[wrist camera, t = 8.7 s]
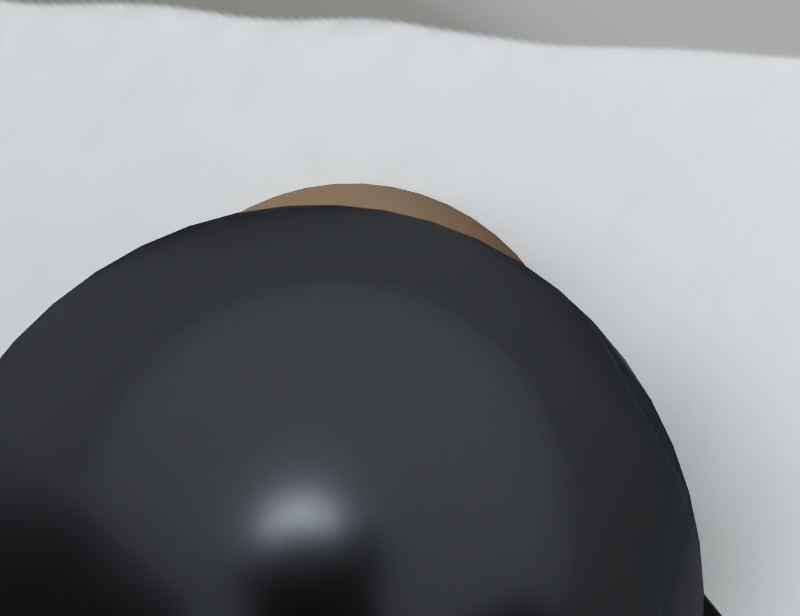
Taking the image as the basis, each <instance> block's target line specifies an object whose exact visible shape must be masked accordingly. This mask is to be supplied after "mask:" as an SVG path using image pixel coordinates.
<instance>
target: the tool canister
mask: <svg viewBox="0 0 800 616" xmlns="http://www.w3.org/2000/svg"><path fill="white" fill-rule="evenodd" d="M703 606H704V589H703V578H702V566H701V554H700V543H699V538H698V533H697V528H696V523H695V519H694V514H693V509H692V504H691V500H690V495H689V491H688V488H687V485H686V482H685V479H684V476H683V473H682V470H681V468H680V465H679V462H678V459H677V456H676V453H675V450H674V447H673V444H672V442H671V440H670V438H669V436H668V434H667V432H666V430H665V428H664V426H663V424H662V422H661V419H660V417H659V415H658V413H657V411H656V409H655V407H654V405H653V403H652V401H651V399H650V398H649V396H648V395H647V393H646V391H645V390H644V388H643V387H642V385H641V384H640V382H639V381H638V379H637V378H636V376H635V374H634V373H633V371H632V370H631V368H630V367H629V365H628V364H627V362H626V361H625V359H624V358H623V357H622V355H621V354H620V353H619V352H618V351H617V350H616V348H615V347H614V346H613V345H612V344H611V342H610V341H609V340H608V339H607V338H606V336H605V335H604V334H603V333H602V332H601V330H600V329H599V328H598V327H597V326H596V324H595V323H594V322H593V321H592V320H591V319H590V318H589V317H587V316H586V315H585V314H584V313H583V312H582V311H581V310H580V309H579V308H578V307H577V306H576V305H574V304H573V303H572V302H571V301H570V300H569V299H568V298H567V297H566V296H565V295H564V294H563V293H562V292H560V291H559V290H558V289H557V288H556V287H554V286H553V285H551V284H550V283H549V282H547V281H546V280H544V279H543V278H542V277H540V276H539V275H537V274H536V273H535V272H533V271H532V270H530V269H529V268H528V267H526V266H525V265H523V264H522V263H521V262H519V261H517V260H515V259H514V258H512V257H510V256H508V255H506V254H504V253H502V252H501V251H499V250H497V249H495V248H493V247H491V246H489V245H488V244H486V243H484V242H482V241H480V240H478V239H476V238H474V237H471V236H468V235H466V234H463V233H461V232H458V231H455V230H453V229H450V228H447V227H445V226H442V225H440V224H437V223H434V222H432V221H428V220H423V219H419V218H415V217H411V216H407V215H403V214H399V213H395V212H390V211H386V210H379V209H370V208H361V207H352V206H343V205H296V206H281V207H274V208H268V209H261V210H254V211H247V212H240V213H235V214H232V215H228V216H224V217H221V218H217V219H213V220H210V221H206V222H203V223H199V224H195V225H192V226H188V227H186V228H184V229H181V230H179V231H176V232H174V233H172V234H169V235H167V236H164V237H162V238H160V239H157V240H155V241H152V242H150V243H148V244H145V245H143V246H141V247H139V248H137V249H135V250H134V251H132V252H130V253H128V254H127V255H125V256H123V257H121V258H120V259H118V260H116V261H114V262H113V263H111V264H109V265H107V266H106V267H104V268H102V269H100V270H99V271H97V272H95V273H94V274H93V275H91V276H90V277H89V278H87V279H86V280H84V281H83V282H82V283H80V284H79V285H78V286H76V287H75V288H74V289H72V290H71V291H70V292H68V293H67V294H66V295H64V296H63V297H62V298H60V299H59V300H58V301H56V302H55V303H54V304H53V305H52V306H50V307H49V308H48V309H47V310H46V311H45V312H44V313H43V314H42V315H41V316H40V317H39V318H38V319H37V320H36V321H35V322H34V323H33V324H32V325H31V326H30V327H29V328H28V329H27V330H26V331H24V332H23V333H22V334H21V335H20V336H19V337H18V338H17V339H16V340H15V341H14V342H13V343H12V345H11V346H10V347H9V348H8V350H7V351H6V352H5V353H4V354H3V356H2V357H1V358H0V616H703Z"/></svg>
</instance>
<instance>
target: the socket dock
mask: <svg viewBox="0 0 800 616" xmlns="http://www.w3.org/2000/svg"><path fill="white" fill-rule="evenodd" d="M296 205H343V206H352V207H361V208H370V209H379V210H386V211H390V212H395V213H399V214H403V215H407V216H411V217H415V218H419V219H423V220H428V221H432V222H434V223H437V224H440V225H442V226H445V227H447V228H450V229H453V230H455V231H458V232H461V233H463V234H466V235H468V236H471V237H474V238H476V239H478V240H480V241H482V242H484V243H486V244H488V245H489V246H491V247H493V248H495V249H497V250H499V251H501V252H502V253H504V254H506V255H508V256H510V257H512V258H514V259H515V260H517V261H519V262H521V263H522V264H523V265H524V263H523V262H522V261H521V260H520V259H519V257H518V256H517V255H516V254H515V253H514V252H513V251H512V250H511V249H510V248H509V247H508V246H507V245H506V244H504V243H503V242H502V241H501V240H500V239H499V238H498V237H497V236H496V235H495V234H493V233H492V232H491V231H489V230H488V229H486V228H485V227H484V226H482V225H481V224H479V223H478V222H477V221H475V220H474V219H473V218H471V217H469V216H467V215H465V214H464V213H462V212H460V211H458V210H456V209H454V208H452V207H451V206H449V205H447V204H445V203H442V202H439V201H437V200H434V199H432V198H429V197H426V196H424V195H421V194H418V193H414V192H410V191H406V190H402V189H398V188H394V187H387V186H379V185H370V184H332V185H324V186H317V187H310V188H304V189H301V190H297V191H293V192H290V193H286V194H282V195H279V196H276V197H273V198H271V199H269V200H266V201H264V202H261V203H259V204H257V205H254V206H252V207H249V208H248V209H246V210H244V211H242V212H247V211H254V210H261V209H268V208H274V207H281V206H296Z"/></svg>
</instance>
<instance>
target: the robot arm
mask: <svg viewBox="0 0 800 616" xmlns="http://www.w3.org/2000/svg"><path fill="white" fill-rule="evenodd" d="M703 616H722V615H721V614H720V613H719V611H718V610H717V609H716V608H715V607H714V605H713V604H712V603H711V602H710V600H709V599H708V598H707V597H706V595H705V594H704V606H703Z"/></svg>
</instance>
